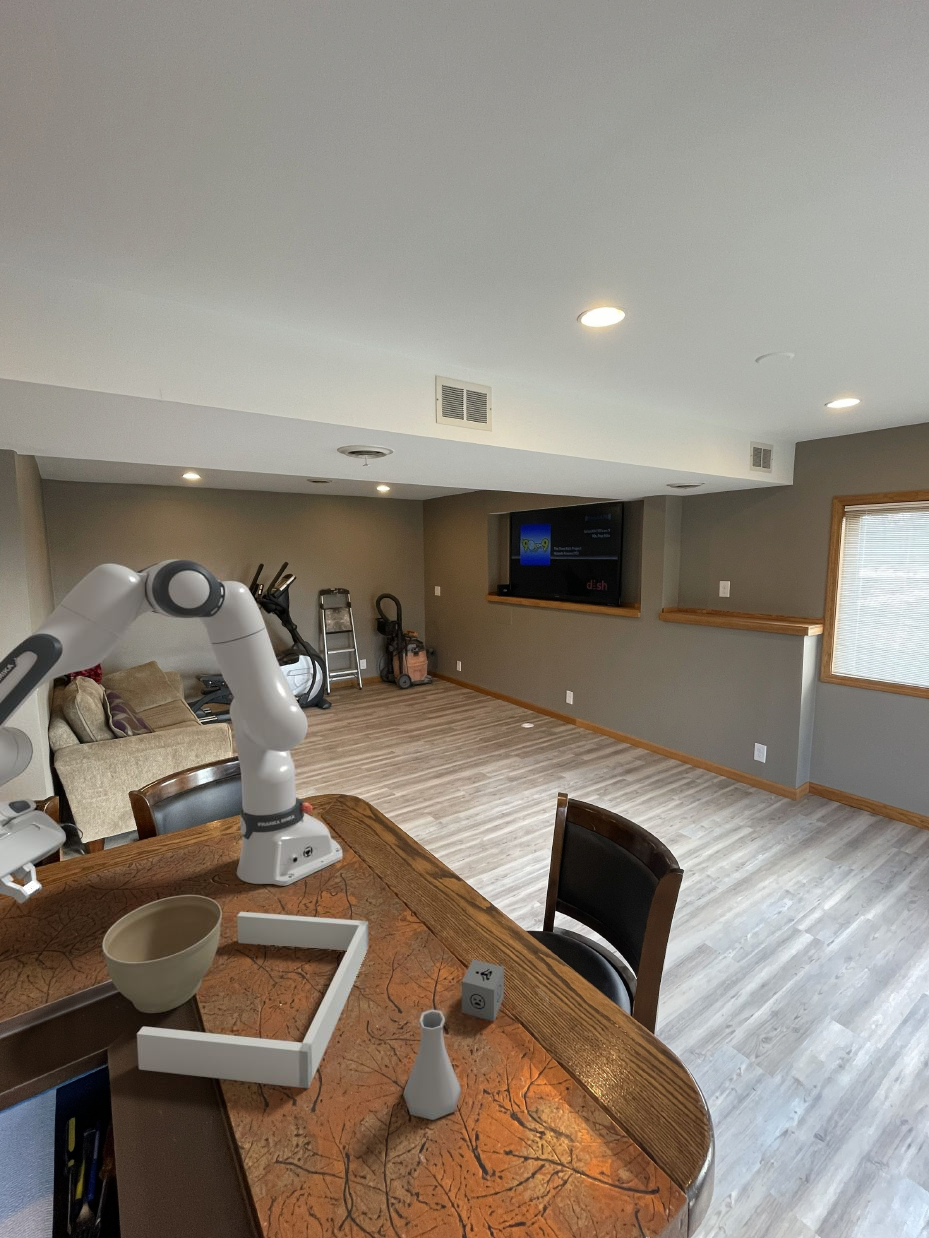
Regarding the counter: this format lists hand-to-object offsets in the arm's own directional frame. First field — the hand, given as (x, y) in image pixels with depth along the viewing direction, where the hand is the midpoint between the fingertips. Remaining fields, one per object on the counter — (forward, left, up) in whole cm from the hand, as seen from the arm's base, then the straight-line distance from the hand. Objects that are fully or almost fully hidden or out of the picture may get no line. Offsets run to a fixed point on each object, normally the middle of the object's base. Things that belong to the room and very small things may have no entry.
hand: (32, 895), depth 89 cm
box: (-28, +28, -14) cm, 41 cm away
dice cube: (-53, +48, -14) cm, 73 cm away
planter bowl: (-16, +16, -14) cm, 26 cm away
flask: (-38, +55, -14) cm, 69 cm away
